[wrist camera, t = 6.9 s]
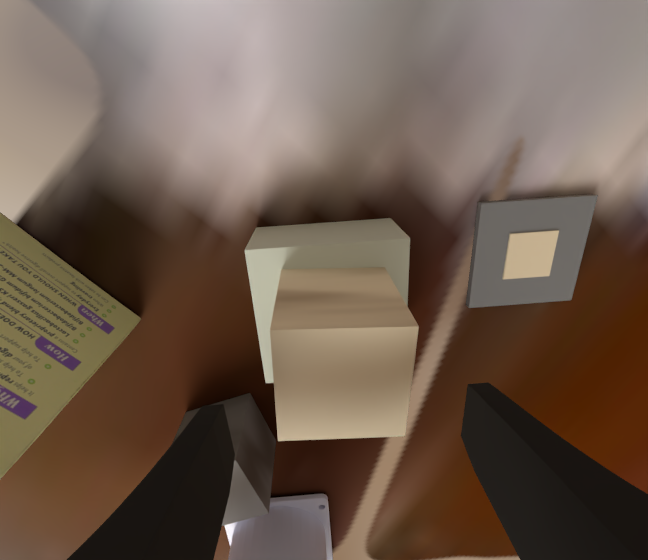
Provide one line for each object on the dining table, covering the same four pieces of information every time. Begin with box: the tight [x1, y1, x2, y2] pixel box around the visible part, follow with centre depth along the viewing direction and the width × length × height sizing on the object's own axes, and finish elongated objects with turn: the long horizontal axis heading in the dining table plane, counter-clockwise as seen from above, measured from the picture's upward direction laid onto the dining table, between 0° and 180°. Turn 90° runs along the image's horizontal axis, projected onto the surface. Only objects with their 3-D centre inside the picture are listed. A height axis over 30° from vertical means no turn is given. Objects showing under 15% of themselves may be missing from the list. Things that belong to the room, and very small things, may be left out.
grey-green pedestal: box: [245, 218, 410, 383], centre depth 18 cm, size 7×7×4 cm
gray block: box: [172, 393, 276, 526], centre depth 21 cm, size 4×4×5 cm
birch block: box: [270, 267, 419, 441], centre depth 14 cm, size 4×4×5 cm
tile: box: [466, 194, 598, 308], centre depth 19 cm, size 6×6×1 cm
